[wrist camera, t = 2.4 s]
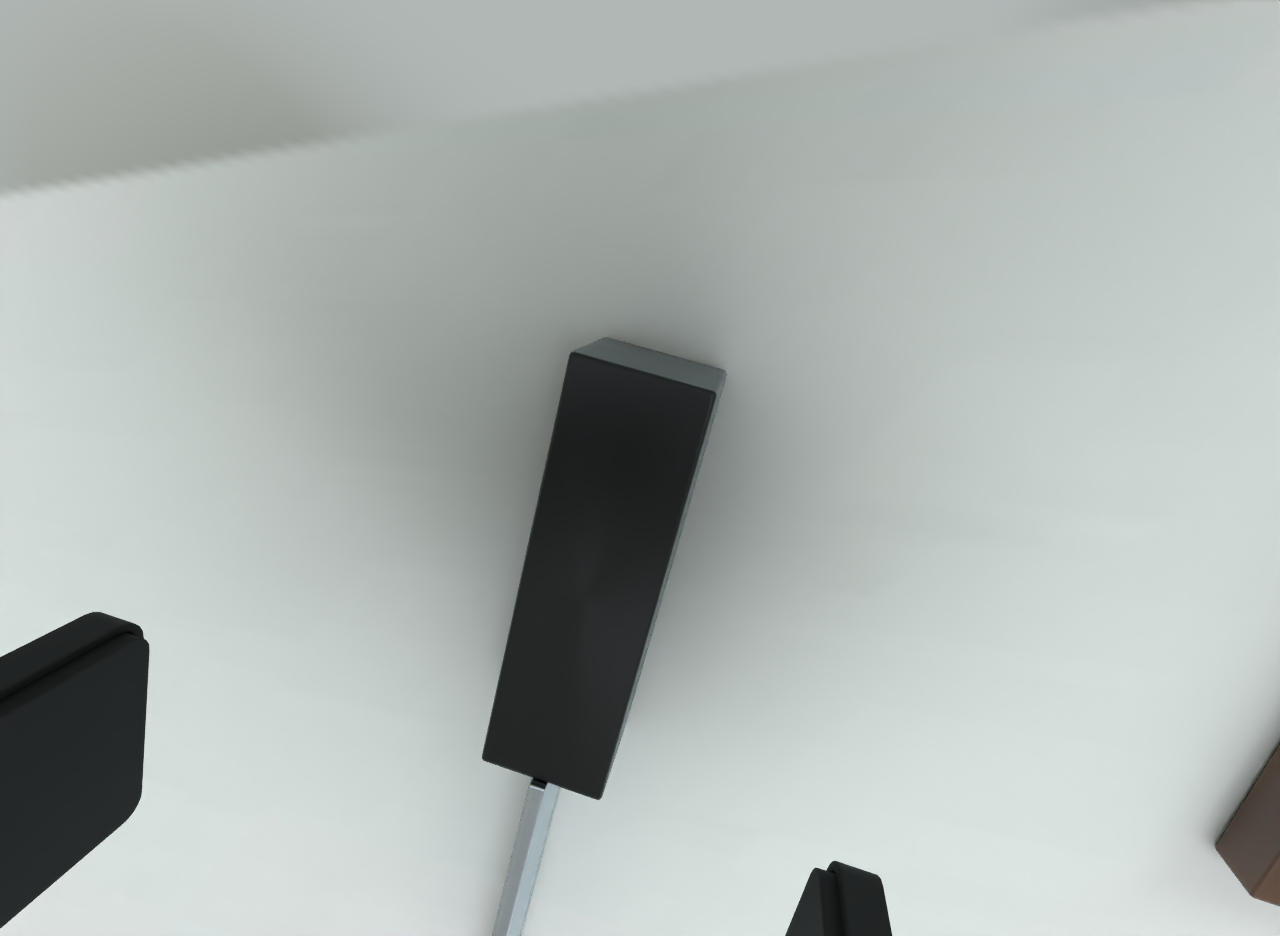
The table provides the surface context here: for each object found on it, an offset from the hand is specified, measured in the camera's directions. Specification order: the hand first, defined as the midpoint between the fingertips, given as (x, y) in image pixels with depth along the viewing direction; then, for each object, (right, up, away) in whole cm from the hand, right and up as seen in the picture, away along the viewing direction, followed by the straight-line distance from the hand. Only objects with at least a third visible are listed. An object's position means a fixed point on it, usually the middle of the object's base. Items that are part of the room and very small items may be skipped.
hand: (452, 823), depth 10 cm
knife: (+1, -2, +10) cm, 11 cm away
